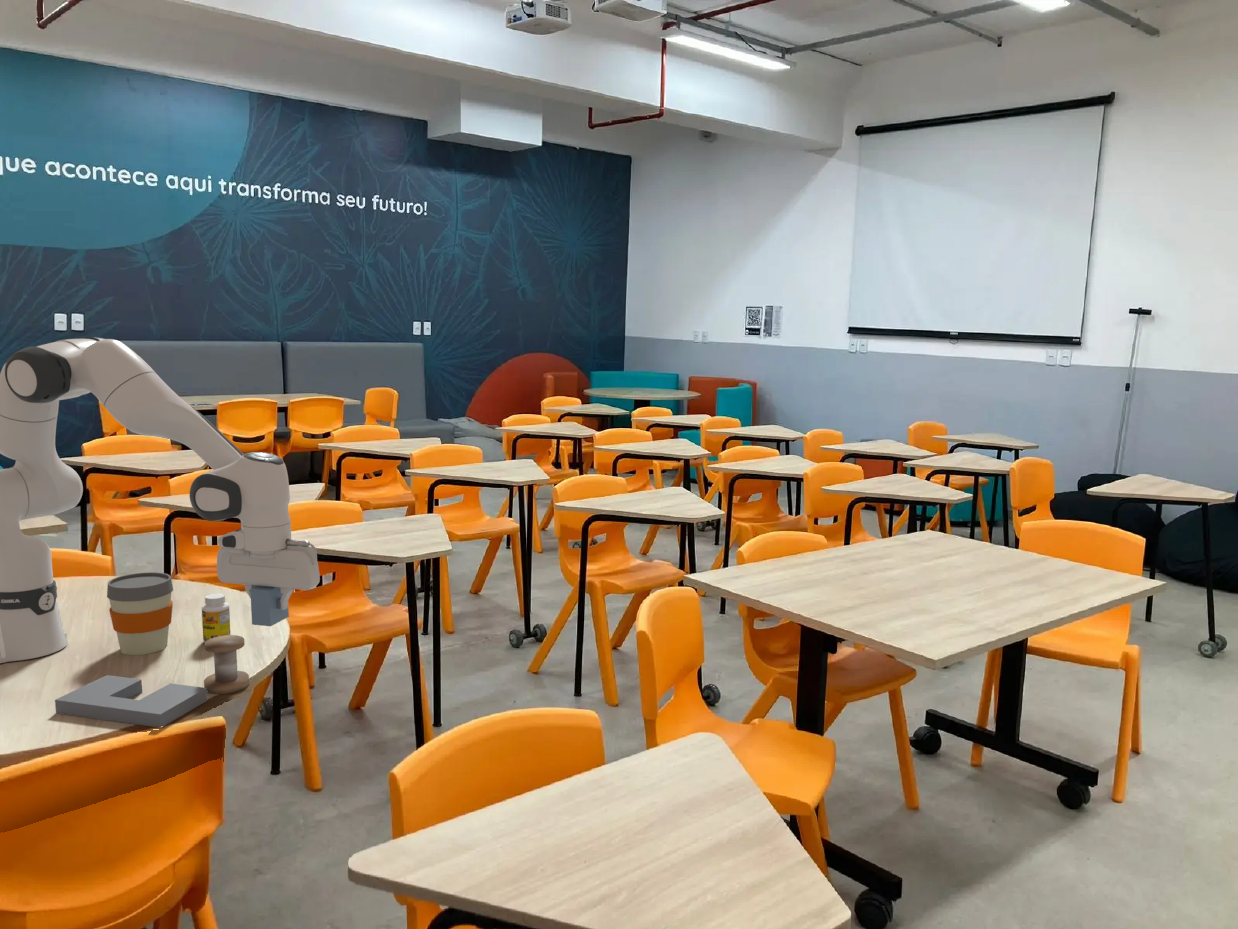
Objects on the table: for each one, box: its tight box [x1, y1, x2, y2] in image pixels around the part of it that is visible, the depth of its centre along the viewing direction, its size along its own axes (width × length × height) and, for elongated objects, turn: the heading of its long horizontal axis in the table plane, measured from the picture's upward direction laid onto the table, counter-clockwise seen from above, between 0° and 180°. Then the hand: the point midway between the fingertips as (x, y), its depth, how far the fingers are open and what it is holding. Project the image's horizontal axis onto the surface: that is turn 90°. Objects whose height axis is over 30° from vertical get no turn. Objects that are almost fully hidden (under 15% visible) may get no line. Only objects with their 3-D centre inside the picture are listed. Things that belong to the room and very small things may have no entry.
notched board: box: [54, 674, 208, 728], centre depth 167 cm, size 22×12×2 cm, turn 76°
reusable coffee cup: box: [106, 571, 174, 656], centre depth 196 cm, size 13×13×15 cm
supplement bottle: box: [201, 593, 232, 643], centre depth 201 cm, size 6×6×10 cm
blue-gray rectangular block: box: [250, 586, 290, 627], centre depth 177 cm, size 4×6×7 cm, turn 167°
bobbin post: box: [203, 634, 250, 695], centre depth 177 cm, size 8×8×9 cm
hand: (270, 607), depth 177 cm, fingers closed on blue-gray rectangular block, 4 cm apart
